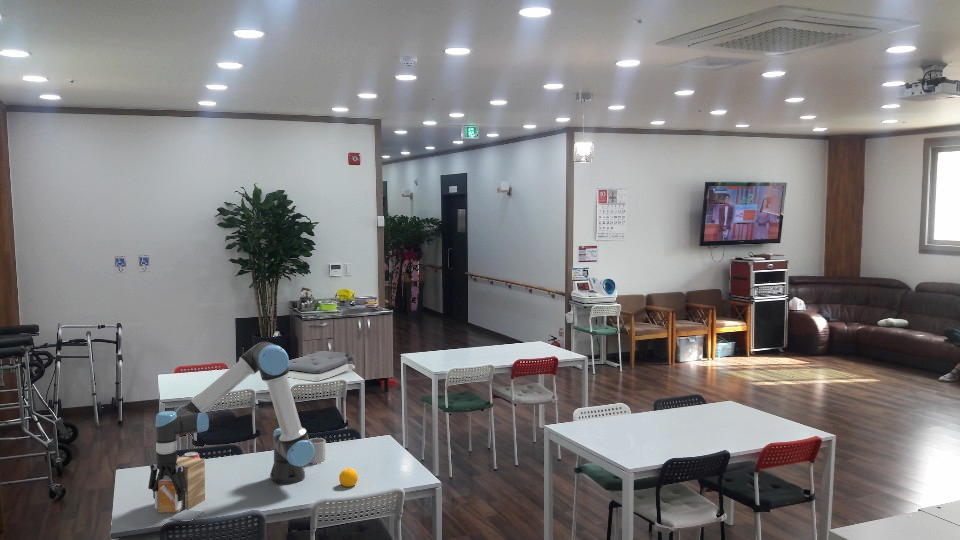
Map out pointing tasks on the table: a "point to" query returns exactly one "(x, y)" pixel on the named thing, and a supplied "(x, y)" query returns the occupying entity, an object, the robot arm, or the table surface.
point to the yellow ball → (348, 477)
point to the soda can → (192, 455)
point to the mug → (318, 450)
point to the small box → (167, 496)
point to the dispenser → (193, 480)
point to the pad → (187, 515)
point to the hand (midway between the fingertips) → (168, 507)
